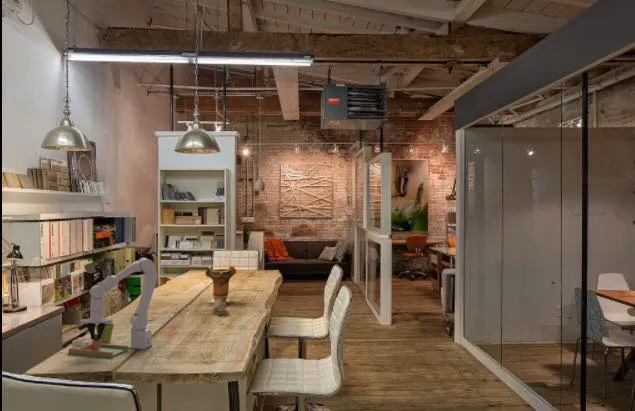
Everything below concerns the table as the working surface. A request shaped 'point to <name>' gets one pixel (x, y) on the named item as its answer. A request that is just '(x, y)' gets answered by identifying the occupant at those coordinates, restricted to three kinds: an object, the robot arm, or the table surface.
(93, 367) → the table surface
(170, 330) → the table surface
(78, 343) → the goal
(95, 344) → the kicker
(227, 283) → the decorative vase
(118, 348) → the pitch
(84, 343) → the ball
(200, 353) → the table surface
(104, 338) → the plant pot
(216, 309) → the ceramic model
